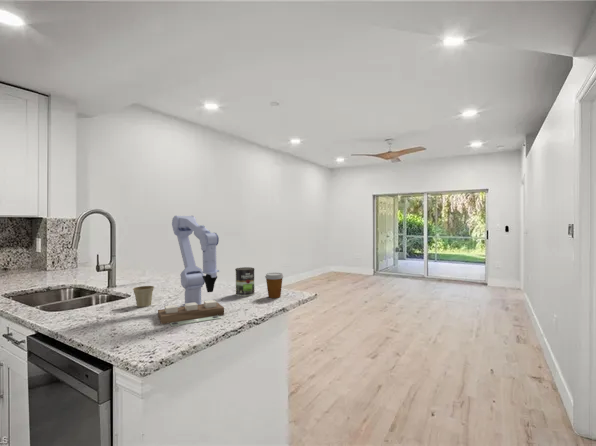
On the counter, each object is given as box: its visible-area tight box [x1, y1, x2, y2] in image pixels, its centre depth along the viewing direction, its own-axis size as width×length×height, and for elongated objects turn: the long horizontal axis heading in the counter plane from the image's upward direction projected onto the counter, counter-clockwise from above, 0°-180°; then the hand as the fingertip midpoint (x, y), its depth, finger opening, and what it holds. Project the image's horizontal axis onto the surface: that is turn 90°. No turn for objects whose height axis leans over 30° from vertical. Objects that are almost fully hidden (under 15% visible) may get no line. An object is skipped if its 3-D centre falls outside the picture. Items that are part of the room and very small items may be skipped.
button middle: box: [184, 302, 198, 311], centre depth 140 cm, size 4×4×3 cm
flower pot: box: [132, 285, 155, 308], centre depth 158 cm, size 9×9×9 cm
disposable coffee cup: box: [264, 272, 284, 299], centre depth 173 cm, size 10×10×12 cm
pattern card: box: [169, 315, 221, 327], centre depth 133 cm, size 4×19×1 cm, turn 119°
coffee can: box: [234, 266, 255, 297], centre depth 180 cm, size 10×10×14 cm
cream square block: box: [164, 304, 178, 314], centre depth 136 cm, size 4×4×3 cm
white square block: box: [203, 299, 218, 308], centre depth 144 cm, size 4×4×3 cm
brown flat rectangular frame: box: [157, 302, 225, 325], centre depth 140 cm, size 11×25×3 cm, turn 119°
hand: (210, 291), depth 144 cm, fingers closed
